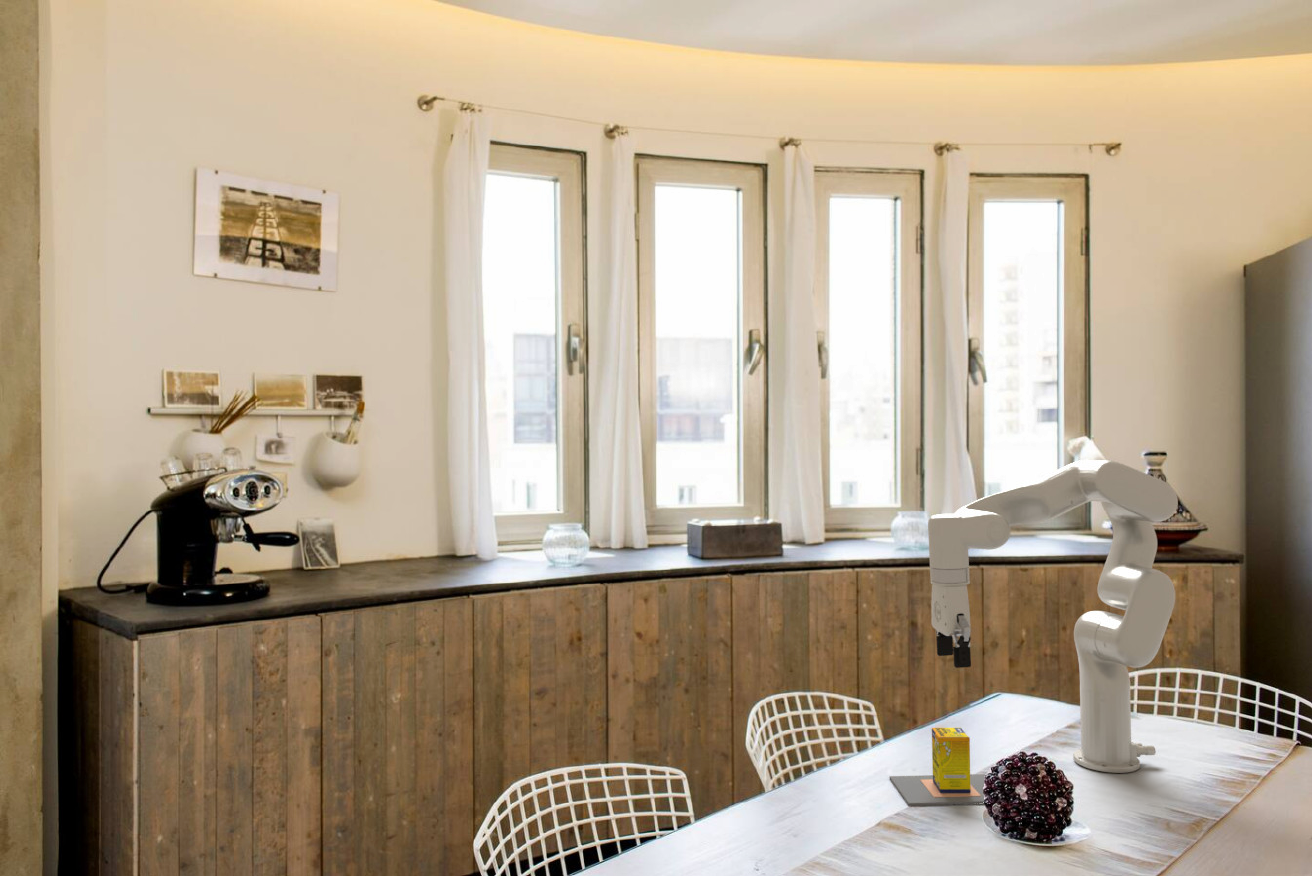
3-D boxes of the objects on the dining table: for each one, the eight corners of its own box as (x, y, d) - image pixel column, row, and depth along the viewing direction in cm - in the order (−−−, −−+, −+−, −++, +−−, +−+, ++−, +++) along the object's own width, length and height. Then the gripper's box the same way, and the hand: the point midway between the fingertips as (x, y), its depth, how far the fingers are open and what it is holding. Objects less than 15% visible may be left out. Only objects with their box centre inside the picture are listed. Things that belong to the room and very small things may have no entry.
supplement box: (932, 782, 186) (930, 727, 186) (962, 782, 185) (961, 727, 185) (939, 793, 180) (938, 736, 180) (971, 793, 179) (970, 736, 179)
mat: (988, 776, 190) (987, 773, 190) (1015, 803, 176) (1014, 800, 176) (889, 778, 190) (889, 775, 190) (908, 805, 176) (908, 802, 176)
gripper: (917, 570, 197) (921, 652, 197) (946, 583, 179) (950, 673, 179) (952, 568, 197) (956, 650, 197) (984, 581, 180) (989, 670, 180)
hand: (953, 661), depth 188 cm, fingers open, 9 cm apart
